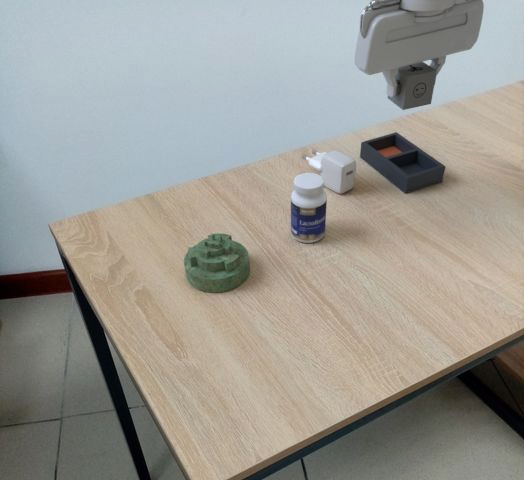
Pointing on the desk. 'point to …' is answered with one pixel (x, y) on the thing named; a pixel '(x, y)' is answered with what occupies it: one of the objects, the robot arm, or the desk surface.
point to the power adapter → (334, 169)
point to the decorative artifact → (217, 264)
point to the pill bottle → (308, 208)
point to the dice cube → (415, 85)
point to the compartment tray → (402, 162)
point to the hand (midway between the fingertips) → (410, 90)
